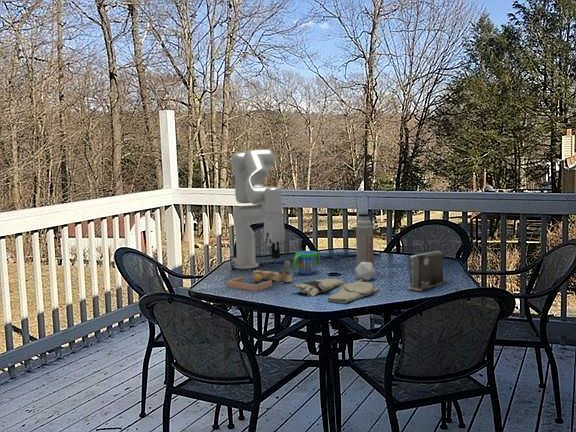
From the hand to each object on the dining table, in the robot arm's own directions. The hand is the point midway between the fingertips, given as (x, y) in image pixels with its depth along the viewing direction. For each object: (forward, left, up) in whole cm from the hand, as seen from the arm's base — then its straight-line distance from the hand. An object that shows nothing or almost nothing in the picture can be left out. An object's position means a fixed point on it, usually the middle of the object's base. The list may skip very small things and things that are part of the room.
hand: (275, 258), depth 247 cm
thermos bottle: (+23, +40, -13) cm, 48 cm away
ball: (-13, +4, -13) cm, 19 cm away
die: (+29, +28, -13) cm, 42 cm away
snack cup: (-2, +28, -13) cm, 31 cm away
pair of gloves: (+29, +2, -13) cm, 32 cm away
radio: (+57, +29, -13) cm, 65 cm away
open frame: (-11, -5, -13) cm, 18 cm away
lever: (-8, +8, -12) cm, 17 cm away
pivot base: (-3, +8, -13) cm, 16 cm away
